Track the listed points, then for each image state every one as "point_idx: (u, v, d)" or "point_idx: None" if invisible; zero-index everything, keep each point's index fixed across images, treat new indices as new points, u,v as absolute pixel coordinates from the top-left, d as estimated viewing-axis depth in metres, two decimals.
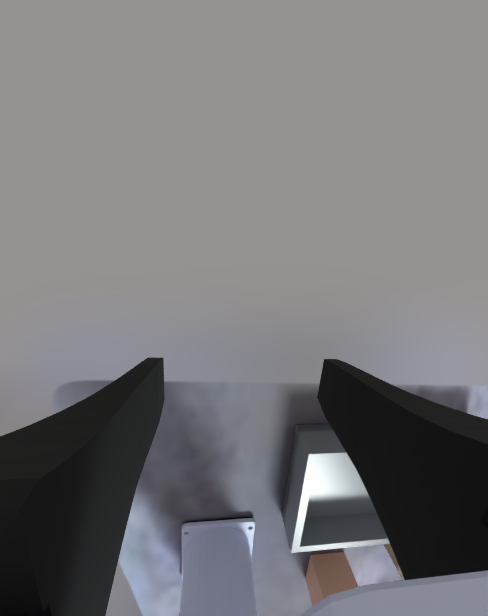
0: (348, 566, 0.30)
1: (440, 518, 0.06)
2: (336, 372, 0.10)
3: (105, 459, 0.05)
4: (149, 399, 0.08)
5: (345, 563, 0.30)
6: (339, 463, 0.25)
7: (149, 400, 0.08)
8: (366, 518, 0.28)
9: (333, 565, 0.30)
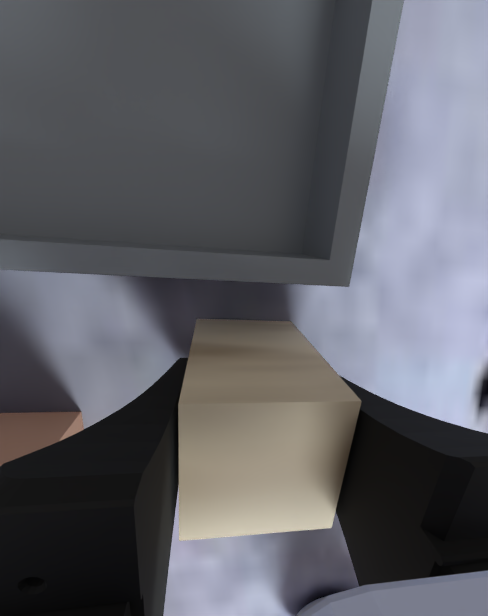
0: (59, 434, 0.11)
1: (388, 522, 0.05)
2: None
3: (167, 456, 0.05)
4: None
5: (57, 429, 0.11)
6: None
7: None
8: (39, 238, 0.08)
9: (16, 431, 0.11)
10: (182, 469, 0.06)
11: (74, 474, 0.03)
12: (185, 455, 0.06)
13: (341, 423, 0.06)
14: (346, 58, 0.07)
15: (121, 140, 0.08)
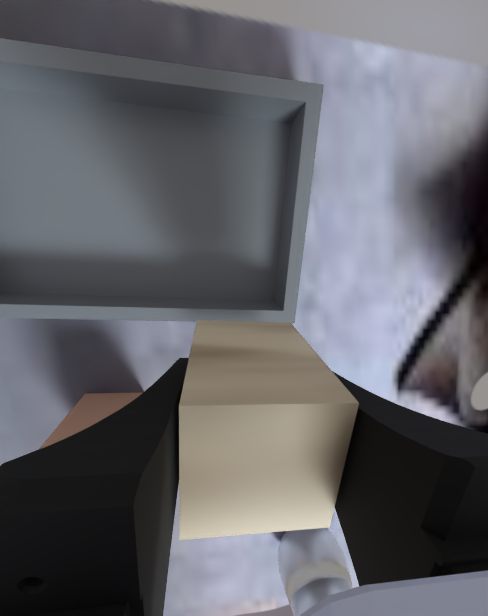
0: None
1: (388, 522, 0.05)
2: None
3: (166, 456, 0.05)
4: None
5: None
6: (48, 163, 0.14)
7: None
8: (135, 298, 0.16)
9: (112, 402, 0.18)
10: (183, 470, 0.06)
11: (73, 474, 0.03)
12: (185, 456, 0.06)
13: (339, 424, 0.06)
14: (288, 217, 0.15)
15: (178, 248, 0.16)
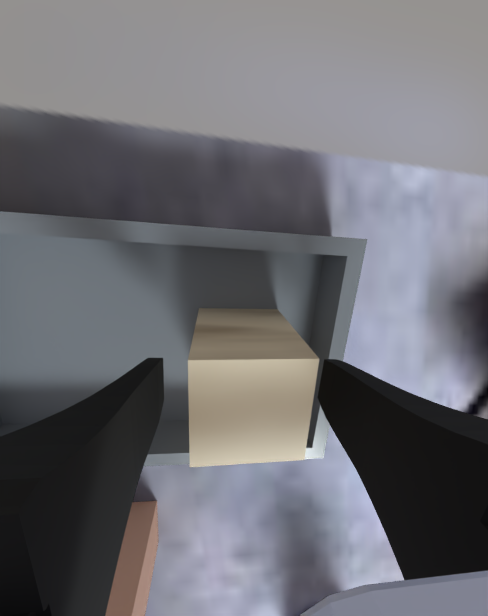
0: (149, 522, 0.17)
1: (440, 518, 0.06)
2: (336, 372, 0.10)
3: (105, 459, 0.05)
4: (149, 399, 0.08)
5: (147, 517, 0.18)
6: (61, 301, 0.13)
7: (149, 400, 0.08)
8: None
9: None
10: (191, 409, 0.09)
11: None
12: (193, 399, 0.08)
13: (305, 375, 0.09)
14: (320, 352, 0.14)
15: None
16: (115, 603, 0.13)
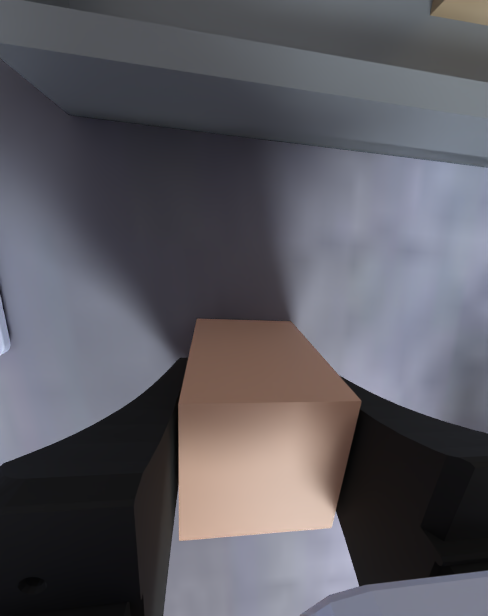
0: (297, 333, 0.10)
1: (388, 522, 0.05)
2: None
3: (167, 456, 0.05)
4: None
5: (289, 329, 0.11)
6: None
7: None
8: None
9: (254, 329, 0.10)
10: None
11: (74, 474, 0.03)
12: None
13: None
14: None
15: (430, 4, 0.08)
16: (314, 388, 0.07)
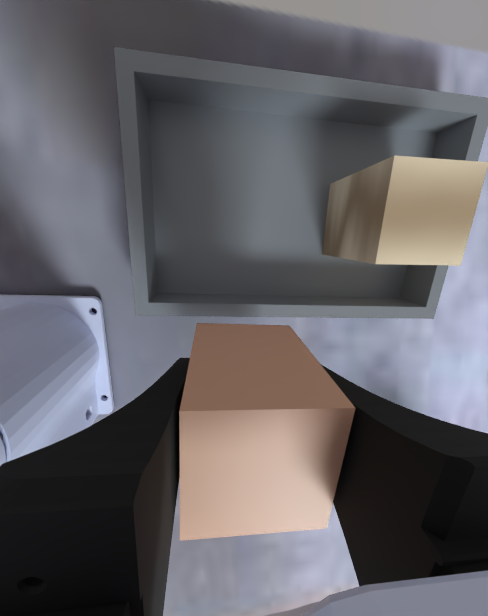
0: (295, 338, 0.11)
1: (388, 523, 0.05)
2: None
3: (166, 456, 0.05)
4: None
5: (288, 334, 0.11)
6: (220, 173, 0.15)
7: None
8: (281, 297, 0.17)
9: (253, 334, 0.11)
10: (388, 204, 0.11)
11: (73, 474, 0.03)
12: (391, 194, 0.11)
13: (476, 178, 0.11)
14: None
15: (321, 250, 0.17)
16: (310, 394, 0.07)
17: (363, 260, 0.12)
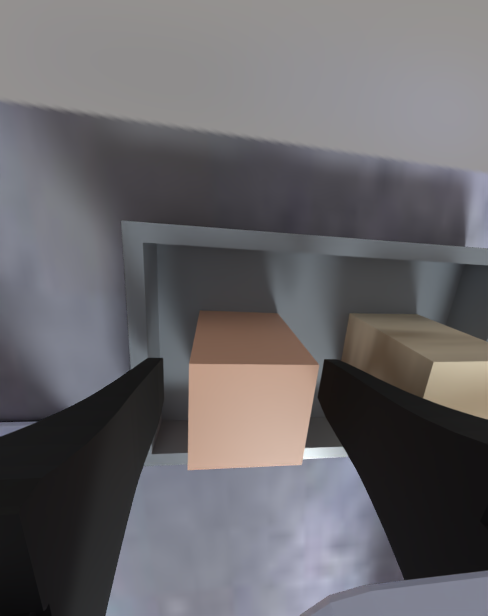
0: (281, 322, 0.13)
1: (440, 518, 0.06)
2: (336, 372, 0.10)
3: (105, 459, 0.05)
4: (149, 399, 0.08)
5: (275, 319, 0.13)
6: (233, 307, 0.14)
7: (149, 400, 0.08)
8: None
9: (246, 319, 0.13)
10: None
11: None
12: (427, 396, 0.10)
13: None
14: None
15: None
16: (287, 357, 0.09)
17: None
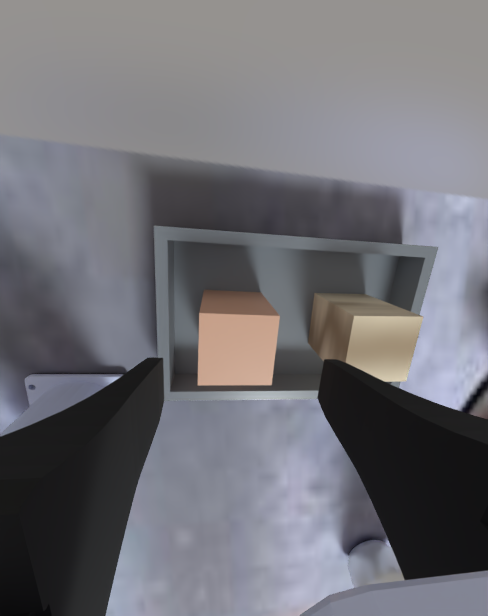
0: (262, 297, 0.18)
1: (440, 518, 0.06)
2: (336, 372, 0.10)
3: (104, 459, 0.05)
4: (149, 399, 0.08)
5: (258, 295, 0.18)
6: (228, 287, 0.19)
7: (149, 400, 0.08)
8: (274, 377, 0.21)
9: (237, 294, 0.18)
10: (350, 345, 0.15)
11: None
12: (352, 339, 0.15)
13: (414, 326, 0.15)
14: None
15: (307, 340, 0.21)
16: (260, 312, 0.14)
17: None
